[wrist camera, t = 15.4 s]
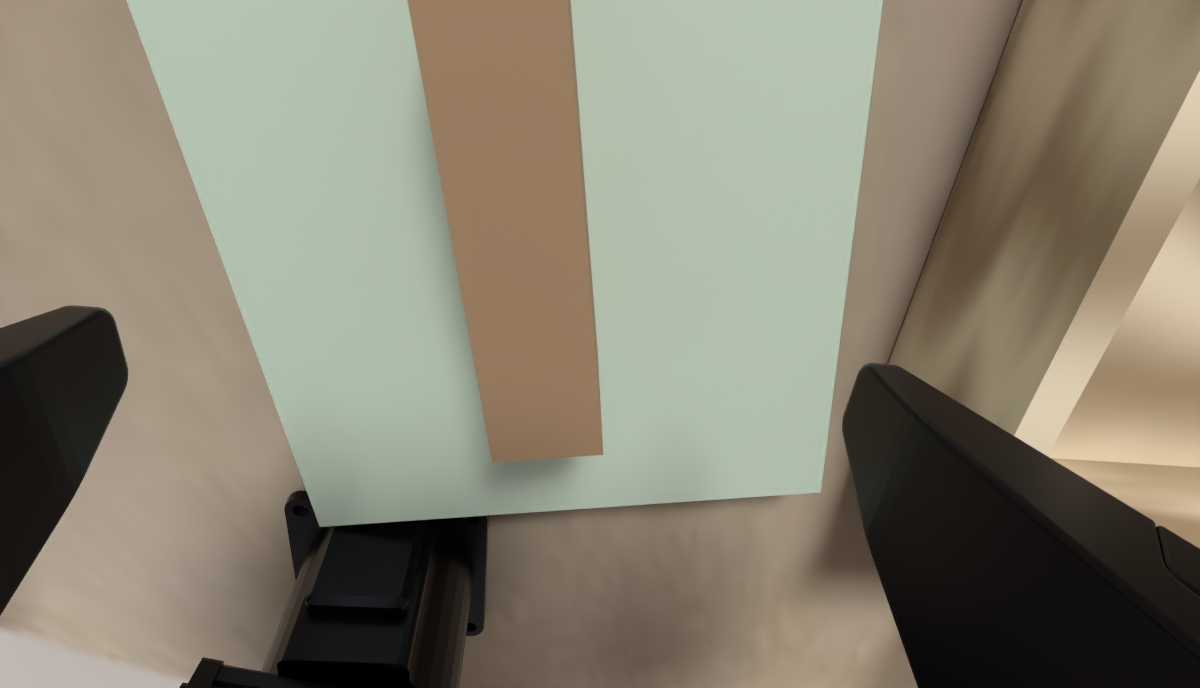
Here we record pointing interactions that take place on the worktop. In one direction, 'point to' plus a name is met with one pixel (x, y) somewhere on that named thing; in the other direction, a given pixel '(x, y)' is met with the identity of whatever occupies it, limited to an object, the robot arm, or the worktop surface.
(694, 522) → the worktop surface
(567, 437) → the lid
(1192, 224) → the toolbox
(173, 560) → the worktop surface
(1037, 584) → the robot arm
